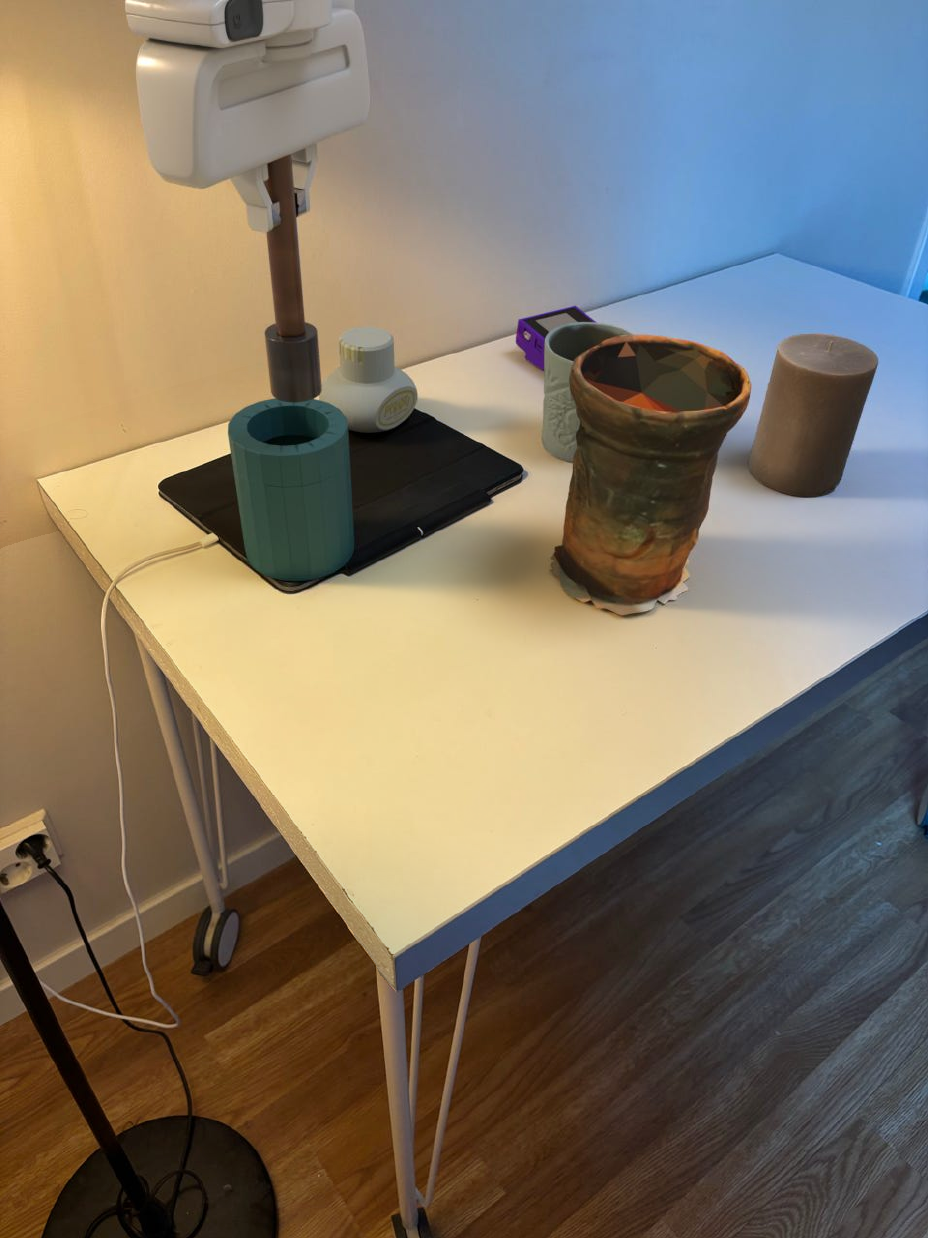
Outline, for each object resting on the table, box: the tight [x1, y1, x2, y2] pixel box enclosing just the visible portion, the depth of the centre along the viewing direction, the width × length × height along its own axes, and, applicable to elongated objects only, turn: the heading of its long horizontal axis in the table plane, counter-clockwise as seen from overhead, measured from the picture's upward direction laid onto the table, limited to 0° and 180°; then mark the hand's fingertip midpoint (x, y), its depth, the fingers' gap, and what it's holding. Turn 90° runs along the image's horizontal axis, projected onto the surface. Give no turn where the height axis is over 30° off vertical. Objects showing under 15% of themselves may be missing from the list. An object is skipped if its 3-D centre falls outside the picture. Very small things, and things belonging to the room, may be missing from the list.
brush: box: [263, 154, 322, 403], centre depth 70 cm, size 4×4×18 cm
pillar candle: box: [747, 332, 879, 498], centre depth 97 cm, size 10×10×15 cm
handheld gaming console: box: [515, 305, 598, 372], centre depth 118 cm, size 9×5×15 cm
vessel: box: [548, 334, 752, 616], centre depth 82 cm, size 14×14×20 cm
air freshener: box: [318, 325, 419, 434], centre depth 105 cm, size 11×8×10 cm
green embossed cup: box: [541, 321, 635, 464], centre depth 101 cm, size 10×10×12 cm
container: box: [227, 397, 355, 582], centre depth 85 cm, size 10×10×13 cm
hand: (280, 221), depth 67 cm, fingers closed on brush, 2 cm apart
